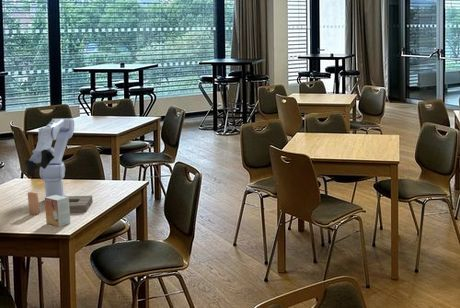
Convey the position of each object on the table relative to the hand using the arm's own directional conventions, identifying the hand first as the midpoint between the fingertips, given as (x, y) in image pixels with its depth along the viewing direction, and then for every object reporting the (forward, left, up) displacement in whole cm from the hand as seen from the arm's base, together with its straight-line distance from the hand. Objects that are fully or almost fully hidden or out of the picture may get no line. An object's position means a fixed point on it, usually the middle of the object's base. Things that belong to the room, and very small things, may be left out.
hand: (36, 171), depth 262 cm
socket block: (-7, +12, -18) cm, 22 cm away
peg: (+1, -2, -18) cm, 18 cm away
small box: (+16, +11, -18) cm, 26 cm away
